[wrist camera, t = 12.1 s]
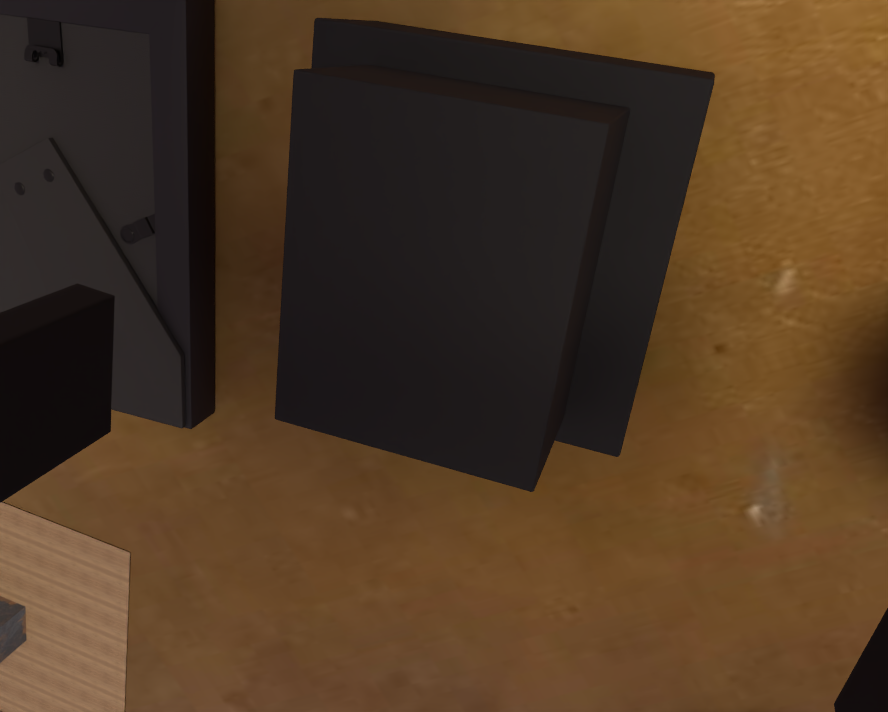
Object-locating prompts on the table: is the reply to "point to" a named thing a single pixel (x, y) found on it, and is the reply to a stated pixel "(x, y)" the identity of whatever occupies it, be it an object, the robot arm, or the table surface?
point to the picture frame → (116, 182)
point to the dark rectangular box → (633, 199)
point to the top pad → (440, 263)
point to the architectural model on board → (7, 634)
